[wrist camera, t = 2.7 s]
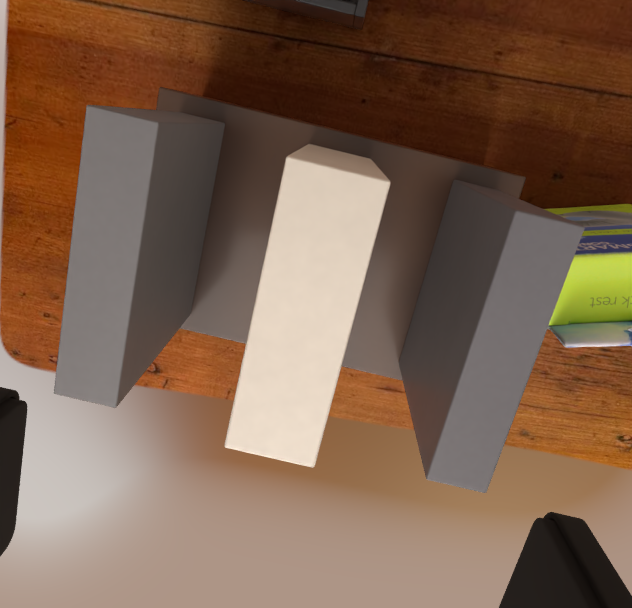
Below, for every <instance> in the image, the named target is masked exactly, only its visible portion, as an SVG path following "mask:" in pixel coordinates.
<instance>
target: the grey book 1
mask: <svg viewBox="0 0 632 608" xmlns="http://www.w3.org/2000/svg"><path fill="white" fill-rule="evenodd" d="M224 128H225V123H222V122H218V121H214V120H210V119H206V118H202V117H198V116H194V115H190V114H186V113H182V112H172V111H159V110H147V109H135V108H122V107H110V106H98V105H87V107H86V116H85V125H84V134H83V142H82V151H81V160H80V169H79V177H78V186H77V195H76V204H75V212H74V221H73V230H72V238H71V247H70V256H69V265H68V273H67V282H66V291H65V300H64V308H63V317H62V326H61V335H60V343H59V352H58V361H57V370H56V378H55V387H54V394H57V395H61V396H66V397H70V398H74V399H79V400H83V401H87V402H92V403H96V404H100V405H105V406H109V407H113V408H116V407H117V406H118V405H119V403H120V402H121V401H122V400H123V398H124V397H125V396H126V395H127V393H128V392H129V391H130V390H131V388H132V387H133V386H134V385H135V383H136V382H137V381H138V380H139V378H140V377H141V376H142V375H143V373H144V372H145V371H146V369H147V368H148V367H149V366H150V364H151V363H152V362H153V361H154V359H155V358H156V357H157V356H158V354H159V353H160V352H161V351H162V349H163V348H164V347H165V346H166V344H167V343H168V342H169V341H170V339H171V338H172V337H173V336H174V334H175V333H176V332H177V331H178V329H179V328H180V327H181V326H182V324H183V323H184V322H185V321H186V319H187V318H188V317H189V316H190V314H191V309H192V304H193V298H194V293H195V287H196V282H197V276H198V271H199V265H200V260H201V254H202V249H203V243H204V238H205V232H206V227H207V221H208V216H209V210H210V205H211V199H212V194H213V188H214V183H215V177H216V172H217V166H218V161H219V155H220V150H221V144H222V139H223V133H224Z"/></svg>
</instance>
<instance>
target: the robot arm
mask: <svg viewBox="0 0 632 608" xmlns="http://www.w3.org/2000/svg"><path fill="white" fill-rule="evenodd" d="M26 417H27V404H26V402H25V401H22V400H19V394H18V392H17V391H15V390H11V389H6V388H2V387H0V556H1V555H2V554H3V552H4V551H5V550H6V548H7V547H8V545H9V543H10V541H11V539H12V536H13V533H14V530H15V524H16V515H17V505H18V495H19V485H20V475H21V466H22V456H23V445H24V437H25V427H26ZM499 608H632V596H631V594H630V592H629V591H628V589H627V588H626V586H625V584H624V583H623V581H622V580H621V578H620V577H619V575H618V573H617V572H616V570H615V569H614V567H613V565H612V564H611V562H610V561H609V559H608V557H607V556H606V554H605V553H604V551H603V549H602V548H601V546H600V545H599V543H598V541H597V540H596V538H595V537H594V535H593V533H592V532H591V530H590V529H589V527H588V525H587V524H586V523H585V521H583V520H582V519H580V518H575V517H571V516H567V515H562V514H558V513H554V512H550V513H547V514H546V515H545V516H544V518H537V519H536V520H535V521H534V523H533V525H532V528H531V530H530V533H529V535H528V537H527V540H526V542H525V545H524V547H523V550H522V552H521V555H520V557H519V559H518V562H517V564H516V567H515V569H514V572H513V574H512V577H511V579H510V582H509V584H508V586H507V589H506V591H505V594H504V596H503V599H502V601H501V604H500V606H499Z"/></svg>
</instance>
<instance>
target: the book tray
mask: <svg viewBox="0 0 632 608" xmlns="http://www.w3.org/2000/svg"><path fill="white" fill-rule="evenodd" d="M243 1H247V2H251V3H255V4H259V5H263V6H267V7H271V8H275V9H279V10H283V11H287V12H291V13H295V14H299V15H303V16H307V17H310V18H314V19H318V20H322V21H326V22H330V23H334V24H338V25H342V26H346V27H350V28H354V29H358V30H362V27H363V23H364V19H365V14H366V10H367V6H368V2H369V0H243Z"/></svg>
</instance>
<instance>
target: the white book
mask: <svg viewBox="0 0 632 608" xmlns="http://www.w3.org/2000/svg"><path fill="white" fill-rule="evenodd" d="M390 184H391V183H390V180H389V179H388V178H387V177H386V176H385V175H384V174H383V172H382V171H381V170H380V169H379V168H378V167H377V165H376V164H375V163H374V162H373V161H372V160H371V159H369V158H365V157H361V156H357V155H353V154H349V153H345V152H341V151H336V150H332V149H328V148H324V147H320V146H316V145H312V144H308V145H306V146H304V147H302V148H301V149H299V150H297V151H295V152H294V153H292V154H290V155H288V156H287V157H286V161H285V165H284V170H283V175H282V179H281V184H280V189H279V193H278V198H277V203H276V207H275V212H274V217H273V221H272V226H271V231H270V235H269V240H268V245H267V249H266V254H265V259H264V263H263V268H262V273H261V277H260V282H259V287H258V291H257V296H256V300H255V305H254V310H253V314H252V319H251V324H250V328H249V333H248V338H247V342H246V347H245V352H244V356H243V361H242V366H241V370H240V375H239V380H238V384H237V389H236V394H235V398H234V403H233V408H232V412H231V417H230V422H229V426H228V431H227V436H226V441H225V447H226V448H230V449H235V450H239V451H243V452H248V453H252V454H257V455H260V456H265V457H269V458H274V459H278V460H282V461H287V462H291V463H295V464H300V465H304V466H309V467H314V466H315V463H316V459H317V455H318V451H319V448H320V444H321V440H322V437H323V433H324V429H325V425H326V422H327V418H328V414H329V411H330V407H331V403H332V399H333V396H334V392H335V388H336V385H337V381H338V377H339V373H340V370H341V366H342V362H343V359H344V355H345V351H346V347H347V344H348V340H349V336H350V332H351V329H352V325H353V321H354V318H355V314H356V310H357V306H358V303H359V299H360V295H361V292H362V288H363V284H364V280H365V277H366V273H367V269H368V265H369V262H370V258H371V254H372V251H373V247H374V243H375V239H376V236H377V232H378V228H379V225H380V221H381V217H382V213H383V210H384V206H385V202H386V198H387V195H388V191H389V187H390Z"/></svg>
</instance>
